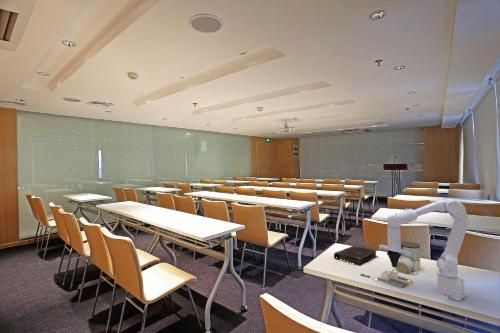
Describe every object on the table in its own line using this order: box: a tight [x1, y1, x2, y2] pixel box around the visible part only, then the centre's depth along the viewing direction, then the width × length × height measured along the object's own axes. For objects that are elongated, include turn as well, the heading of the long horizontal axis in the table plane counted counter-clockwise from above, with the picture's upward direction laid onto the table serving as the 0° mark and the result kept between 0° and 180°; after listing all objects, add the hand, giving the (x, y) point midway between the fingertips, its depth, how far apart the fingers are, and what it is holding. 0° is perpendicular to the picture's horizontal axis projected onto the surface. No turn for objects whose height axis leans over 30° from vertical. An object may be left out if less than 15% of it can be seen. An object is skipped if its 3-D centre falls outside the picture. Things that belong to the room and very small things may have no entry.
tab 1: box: [380, 270, 390, 281], centre depth 133 cm, size 3×3×5 cm
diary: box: [333, 245, 378, 266], centre depth 171 cm, size 19×25×5 cm
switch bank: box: [377, 275, 413, 289], centre depth 132 cm, size 12×11×2 cm
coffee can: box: [399, 241, 422, 272], centre depth 152 cm, size 10×10×14 cm
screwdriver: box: [360, 273, 379, 281], centre depth 136 cm, size 10×2×2 cm, turn 45°
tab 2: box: [388, 268, 399, 279], centre depth 135 cm, size 3×3×5 cm
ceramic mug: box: [394, 258, 420, 276], centre depth 144 cm, size 11×8×8 cm
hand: (394, 266), depth 129 cm, fingers closed
